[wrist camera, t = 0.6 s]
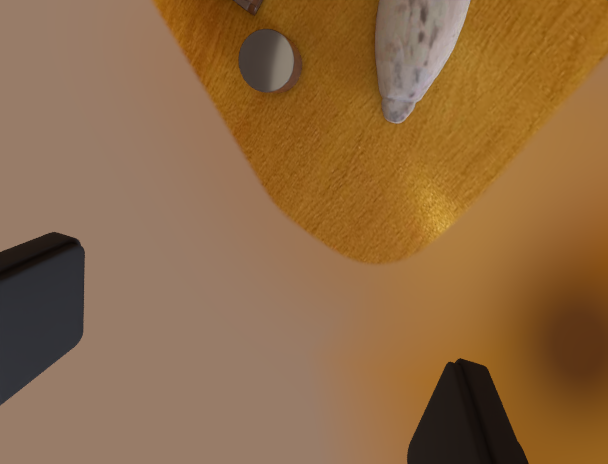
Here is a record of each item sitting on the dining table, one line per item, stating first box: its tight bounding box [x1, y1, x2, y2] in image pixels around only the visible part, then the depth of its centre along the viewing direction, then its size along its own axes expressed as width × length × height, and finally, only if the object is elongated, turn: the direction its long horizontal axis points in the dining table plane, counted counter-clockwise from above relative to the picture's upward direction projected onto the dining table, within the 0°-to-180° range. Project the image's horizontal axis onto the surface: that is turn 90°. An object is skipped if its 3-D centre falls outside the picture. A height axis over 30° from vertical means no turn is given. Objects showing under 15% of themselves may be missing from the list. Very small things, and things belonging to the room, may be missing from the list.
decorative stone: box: [375, 0, 470, 123], centre depth 26 cm, size 6×16×3 cm, turn 171°
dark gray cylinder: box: [239, 29, 302, 93], centre depth 30 cm, size 4×4×3 cm
